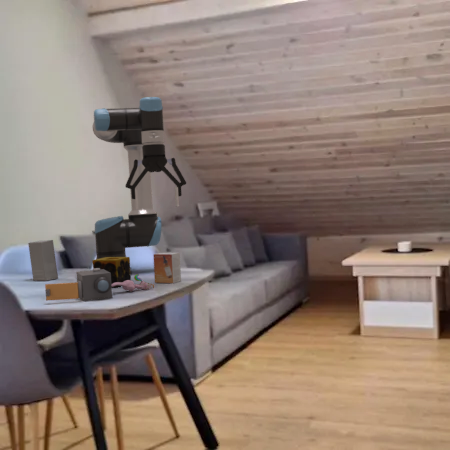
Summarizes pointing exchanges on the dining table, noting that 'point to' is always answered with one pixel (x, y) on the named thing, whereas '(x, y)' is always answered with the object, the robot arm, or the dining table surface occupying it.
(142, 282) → the pink creature figurine
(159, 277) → the small box
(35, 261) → the skincare box
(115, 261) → the candle
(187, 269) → the dining table surface
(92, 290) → the camera body
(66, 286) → the side door
